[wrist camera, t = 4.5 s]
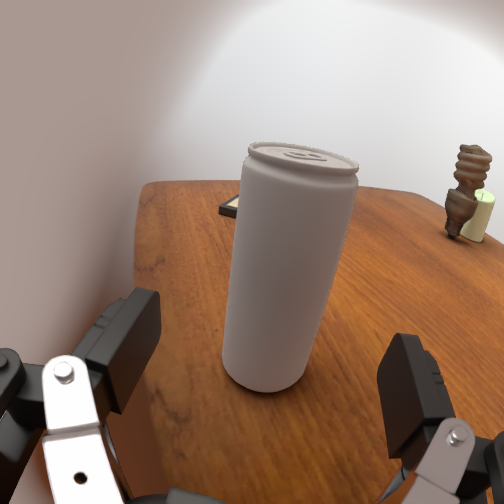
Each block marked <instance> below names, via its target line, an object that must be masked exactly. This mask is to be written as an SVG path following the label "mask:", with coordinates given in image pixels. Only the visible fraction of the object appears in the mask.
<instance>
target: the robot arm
mask: <svg viewBox="0 0 504 504" xmlns="http://www.w3.org/2000/svg"><path fill="white" fill-rule="evenodd" d="M160 335H161V311H160V295H159V292H157V291H153V290H148V289H144V288H140V287H136V288H135V289H134V290H133V292H132V293H131V295H130V296H129V297H128V298H127V300H126V299H122V298H120V299H118V300H116V301H115V302H113V303H111V304H110V305H108V307H107V308H106V309H105V310H104V311H103V313H102V314H101V315H100V317H99V318H98V319H97V320H96V322H95V323H94V326H93V325H92V327H91V328H90V329H89V330H88V332H87V333H86V334H85V336H84V337H83V338H82V340H81V341H80V342H79V344H78V345H77V346H76V347H75V349H74V350H73V351H72V353H71V354H70V355H62V356H59V357H55V358H53V359H52V360H50V361H49V362H48V363H47V364H46V365H35V364H27V363H22V361H21V359H20V357H19V355H18V354H17V352H16V351H14V350H12V349H9V348H1V349H0V419H1V417H2V416H3V414H4V412H5V411H6V410H7V411H6V413H5V414H4V416H3V418H2V419H1V421H0V504H9V501H10V499H11V497H12V495H13V493H14V490H15V488H16V486H17V484H18V482H19V479H20V477H21V475H22V473H23V471H24V469H25V466H26V465H27V463H28V461H29V459H30V456H31V455H32V452H33V450H34V448H35V447H36V444H37V443H38V441H39V438H40V437H41V435H42V433H43V431H44V429H47V434H44V435H43V438H42V442H43V449H44V456H45V461H46V467H47V471H48V476H49V481H50V486H51V490H52V494H53V498H54V502H55V504H227V503H225V502H222V501H220V500H218V499H215V498H213V497H210V496H206V495H201V494H197V493H193V492H189V491H185V490H181V489H177V488H173V487H170V490H169V493H168V494H155V495H146V496H141V497H136V498H134V497H133V495H132V492H131V490H130V487H129V485H128V483H127V480H126V478H125V476H124V474H123V472H122V469H121V466H120V463H119V460H118V458H117V455H116V451H115V448H114V445H113V442H112V439H111V436H110V432H109V429H108V426H107V423H106V418H107V416H108V414H109V413H110V411H112V412H115V413H118V414H120V415H121V414H122V412H123V410H124V408H125V406H126V404H127V402H128V400H129V398H130V396H131V394H132V392H133V390H134V389H135V387H136V384H137V382H138V381H139V379H140V377H141V375H142V373H143V371H144V369H145V367H146V365H147V363H148V361H149V359H150V358H151V356H152V354H153V352H154V350H155V348H156V346H157V344H158V342H159V339H160ZM440 373H441V372H440V370H439V367H438V364H437V362H436V360H435V359H434V358H433V357H432V355H431V354H430V353H429V352H428V351H424V349H423V347H422V344H421V342H420V339H419V337H418V336H417V335H411V334H402V333H397V334H395V335H394V337H393V339H392V341H391V343H390V345H389V347H388V349H387V351H386V353H385V355H384V357H383V359H382V361H381V363H380V365H379V368H378V372H377V384H378V389H379V395H380V401H381V407H382V413H383V419H384V425H385V432H386V439H387V447H388V454H389V459H396V458H401V460H402V465H401V466H400V467H399V468H398V469H397V471H396V472H395V474H394V475H393V477H392V478H391V480H390V481H389V483H388V484H387V485H386V487H385V488H384V490H383V491H382V492H381V494H380V495H379V497H378V498H377V499H376V501H375V502H374V503H373V504H488V503H487V497H486V490H487V489H488V488H490V487H491V488H492V493H493V499H494V504H504V431H503V432H501V433H500V434H498V435H497V436H496V437H495V438H494V439H493V440H489V439H485V438H481V437H477V436H475V434H474V432H473V430H472V428H471V427H470V426H469V424H467V423H466V422H465V421H463V420H461V419H459V418H456V416H455V413H454V410H453V407H452V404H451V401H450V398H449V395H448V392H447V389H446V386H445V385H444V381H443V378H442V375H440Z"/></svg>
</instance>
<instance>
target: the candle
mask: <svg viewBox="0 0 504 504" xmlns="http://www.w3.org/2000/svg"><path fill="white" fill-rule="evenodd" d="M475 197H476V198H477V200H478V202H479V203H478V206H477V209H476V212H475V214H474V216H473V217H472V218H471V219H470V220H469V221H467V222H466V223H465V224H464V225H463V228H462V229H461V231H460V234H461V235H462V236H464V237H465V238H467V239H470V240H472V241H475V242H481V241H482V239H483V236H484V233H485V230H486V227H487V224H488V221H489V218H490V215H491V212H492V209H493V206H494V203H495V197H494V196H493V195H492V194H491V193H490V192H488V191H486V190H484V189H477V190H475Z"/></svg>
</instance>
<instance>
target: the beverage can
mask: <svg viewBox="0 0 504 504" xmlns="http://www.w3.org/2000/svg"><path fill="white" fill-rule="evenodd" d="M248 153H249V156H248V157H246V158H245V160H244V162H243V166H242V174H241V182H240V191H239V199H238V208H237V217H236V226H235V234H234V243H233V253H232V262H231V271H230V281H229V290H228V300H227V310H226V320H225V330H224V340H223V351H222V360H223V366H224V368H225V369H226V371H227V373H228V374H229V375H230V376H231V377H232V378H233V379H234V380H235V381H236V382H237V383H239V384H241V385H242V386H244V387H246V388H248V389H251V390H254V391H257V392H266V393H267V392H277V391H280V390H283V389H285V388H288V387H290V386H291V385H293V384H294V383H295V382H297V381H298V379H299V378H300V377H301V376H302V375H303V373H304V370H305V368H306V365H307V362H308V359H309V356H310V353H311V350H312V347H313V344H314V341H315V338H316V335H317V332H318V329H319V326H320V323H321V320H322V316H323V313H324V310H325V307H326V303H327V300H328V297H329V294H330V290H331V287H332V283H333V280H334V277H335V273H336V270H337V266H338V263H339V260H340V256H341V253H342V249H343V245H344V242H345V238H346V234H347V230H348V227H349V223H350V219H351V215H352V211H353V206H354V202H355V198H356V194H357V189H358V179H357V177H356V175H355V173H357V172H358V169H359V165H358V164H357V163H356V162H355V161H353V160H351V159H349V158H346V157H344V156H341V155H338V154H335V153H332V152H328V151H324V150H320V149H316V148H311V147H306V146H301V145H294V144H287V143H276V142H258V143H252V144H250V145H249V146H248Z"/></svg>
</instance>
